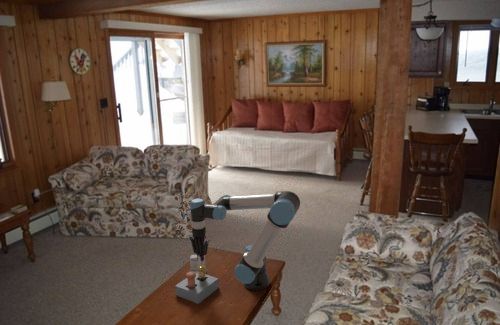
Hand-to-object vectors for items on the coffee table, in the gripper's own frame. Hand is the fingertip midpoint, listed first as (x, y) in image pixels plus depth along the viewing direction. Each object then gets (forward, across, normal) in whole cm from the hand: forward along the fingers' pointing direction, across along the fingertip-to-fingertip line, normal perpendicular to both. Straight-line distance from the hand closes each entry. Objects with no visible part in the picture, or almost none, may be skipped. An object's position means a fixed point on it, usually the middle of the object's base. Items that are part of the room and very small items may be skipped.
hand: (201, 265), depth 231 cm
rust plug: (+10, 0, +9) cm, 13 cm away
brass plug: (+10, 0, 0) cm, 10 cm away
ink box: (+15, +12, -10) cm, 22 cm away
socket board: (+14, 0, +4) cm, 15 cm away
